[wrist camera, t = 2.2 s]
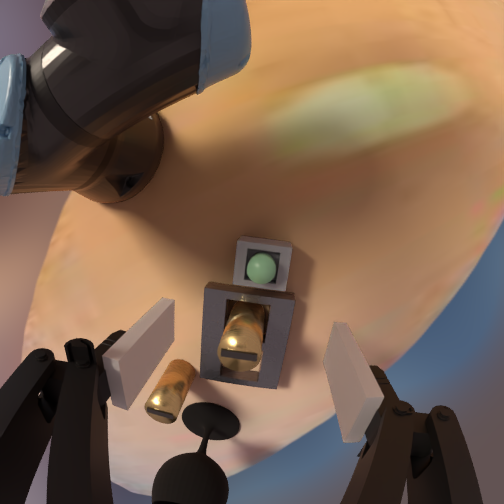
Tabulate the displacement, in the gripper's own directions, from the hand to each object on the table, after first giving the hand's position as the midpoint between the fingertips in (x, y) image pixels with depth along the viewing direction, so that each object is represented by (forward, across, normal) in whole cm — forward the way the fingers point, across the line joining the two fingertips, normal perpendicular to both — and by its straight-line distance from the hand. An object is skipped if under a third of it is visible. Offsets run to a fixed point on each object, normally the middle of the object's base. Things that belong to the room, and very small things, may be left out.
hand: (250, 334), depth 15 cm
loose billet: (+19, -10, -20) cm, 29 cm away
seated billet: (+19, -1, -8) cm, 21 cm away
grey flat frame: (+19, -1, -11) cm, 22 cm away
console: (+19, 0, 0) cm, 19 cm away
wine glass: (+20, -5, -30) cm, 37 cm away
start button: (+16, 0, 0) cm, 16 cm away
